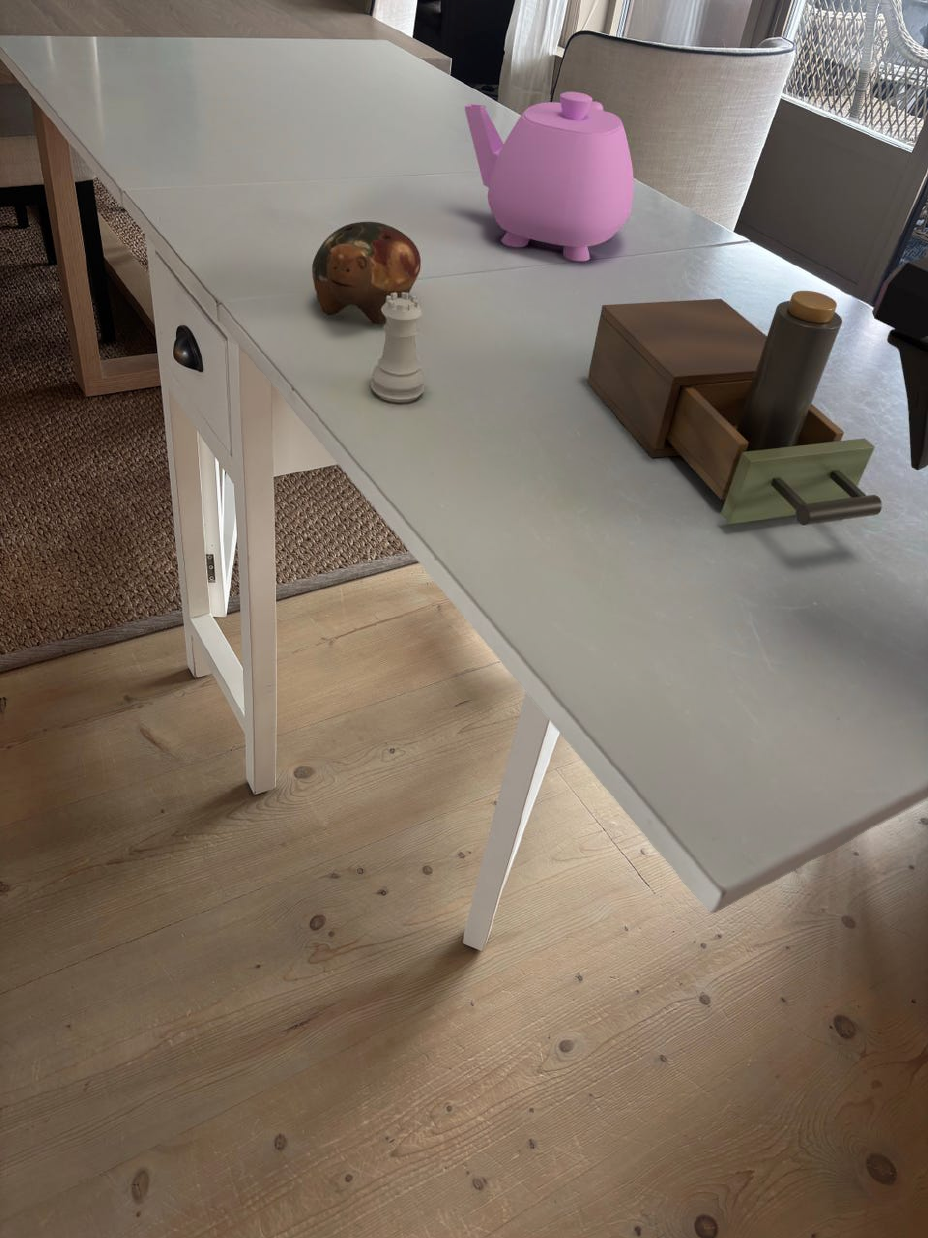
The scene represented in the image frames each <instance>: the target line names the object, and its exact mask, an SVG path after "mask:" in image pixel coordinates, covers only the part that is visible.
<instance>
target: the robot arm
mask: <svg viewBox="0 0 928 1238" xmlns="http://www.w3.org/2000/svg"><path fill="white" fill-rule="evenodd" d="M871 314H872V316H873V319H875V320H876V321H878V322H880V323H882V324H885V325H887V326H888V327H890V328H892V329H891V330H890V331H889V333H888V335H887V338H886V341H887V343H888V344H889V345H891V346H892V347H895V348H896V349H897V351H898V353H899V359H900V364H901V370H902V377H903V382H904V388H905V395H906V400H907V412H908V414H907V415H908V416H907V417H908V434H909V435H908V436H909V451H910V452H909V453H910V466H911V468H912V469H914V470H915V471H920V470H922V469H924V468H926V467H928V256H926V257H923V258H919V259H915V260H911V261H907V262H905V263H903V264H901V265H900V266H897V267H896V268H895V269H893V271H892V272H891V273H890V274H889V276H888V277H887V278H886V279H885V280H884V281H883V284H882V286H881V289H880V291H879V294H878V296H877V299H876V301H875V304H874V306H873V309H872V310H871Z"/></svg>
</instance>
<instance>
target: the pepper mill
mask: <svg viewBox="0 0 928 1238" xmlns="http://www.w3.org/2000/svg"><path fill="white" fill-rule="evenodd" d="M837 307H838V304H837V301H836V300H834V298H832V297H830V296H828V295H826V294H824V293H821V292H817V291H813V290H798V291H795V292H793V293H792V294H791V296H790V300H786V301H785V300H784V301H782V302H780V303H779V304H777V306H776V308H775V311H774V314H773V317H772V320H771V323H770V326H769V329H768V332H767V335H766V336H767V338H766V341H765V344H764V347H763V350H762V353H761V356H760V359H759V363H758V366H757V369H756V372H755V375H754V378H753V381H752V384H751V387H750V390H749V393H748V396H747V399H746V402H745V405H744V408H743V411H742V414H741V417H740V420H739V423H738V426H737V429H736V430H737V431H738V432H739V433H740V434H741V435H742V436H743V437H744V438H745V439H746V440H747V441H748V446H747V449H746V452H747V451H756V450H765V449H774V448H783V447H792V446H795V445H796V442H797V440H798V437H799V434H800V432H801V429H802V427H803V424H804V421H805V419H806V416H807V413H808V411H809V408H810V406H811V404H813V400H814V397H815V395H816V393H817V390H818V387H819V385H820V382H821V379H822V377H823V374H824V372H825V369H826V366H827V363H828V361H829V358H830V356H831V353H832V351H833V347H834V345H835V342H836V340H837V338H838V334H839V333H840V331H841V327H842V324H843V318H842V317H841V316H840V315H839V314H838V313H837V312H836V309H837Z"/></svg>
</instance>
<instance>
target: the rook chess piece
mask: <svg viewBox="0 0 928 1238" xmlns="http://www.w3.org/2000/svg"><path fill="white" fill-rule="evenodd" d="M419 301H420V300H419V299H418V296H417V295H415V294H412V295H410V298H409V293H404V292H402V298H397V293H396V292H395V293H391V296H387V298H386V303H385V304H384V305H383V306H382V308H381V311H382V313H383V314H384V316H385V317H386V321H385V323H384V325H383V327H382V329H383V331H384V332H385V333H384V345H383V350H382V355H381V358H379V359H378V361H377V364H376V365H375V366H374V368H373V371H372V374H371V377H372V378H373V379H372V380H371V383H370V386H371V389H372V391H373V393H374V394H375V395H376V396H377V397H378V398H380V399H381V400H384V401H386V402H391V403H397V404H402V403H403V404H404V403H409V402H413V401H415V400H417V399H418V398H419V397H420V396H421V395H422V394H423V392H424V391H425V386H424V384H423V383H424V381H425V374H424V371H423V370H422V368H421V364H420V362H419V361H418V358H417V347H416V346H417V345H416V338H417V337H416V336H417V334H418V333H419V328H418V326H417V321H418V320H419V319H420V318H421V317H422V316H423V310H422V309H421V307H420V305H419Z"/></svg>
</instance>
